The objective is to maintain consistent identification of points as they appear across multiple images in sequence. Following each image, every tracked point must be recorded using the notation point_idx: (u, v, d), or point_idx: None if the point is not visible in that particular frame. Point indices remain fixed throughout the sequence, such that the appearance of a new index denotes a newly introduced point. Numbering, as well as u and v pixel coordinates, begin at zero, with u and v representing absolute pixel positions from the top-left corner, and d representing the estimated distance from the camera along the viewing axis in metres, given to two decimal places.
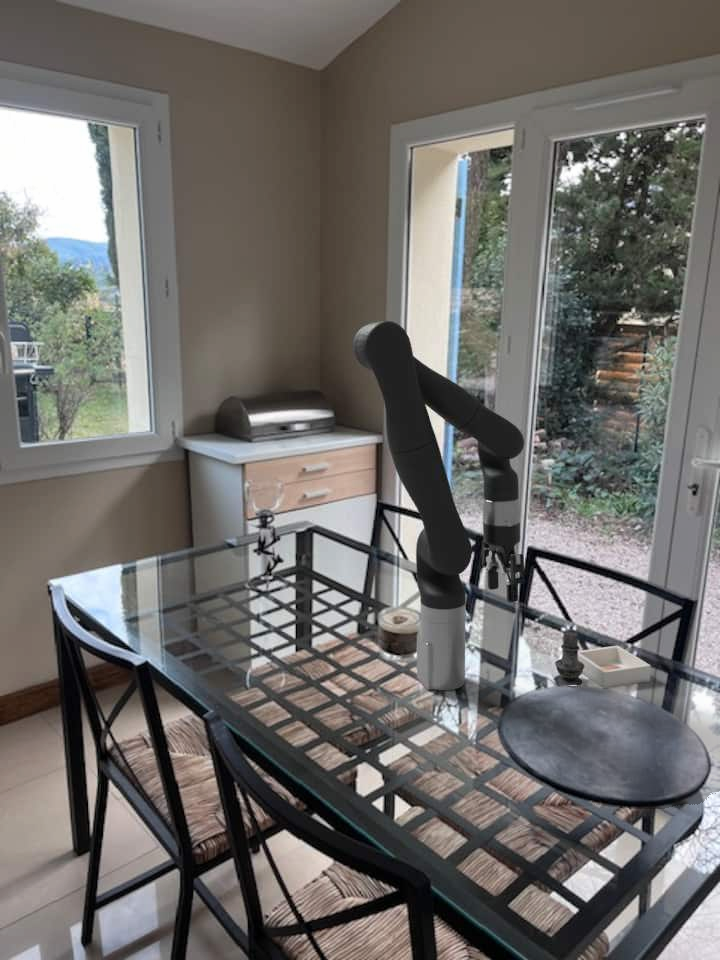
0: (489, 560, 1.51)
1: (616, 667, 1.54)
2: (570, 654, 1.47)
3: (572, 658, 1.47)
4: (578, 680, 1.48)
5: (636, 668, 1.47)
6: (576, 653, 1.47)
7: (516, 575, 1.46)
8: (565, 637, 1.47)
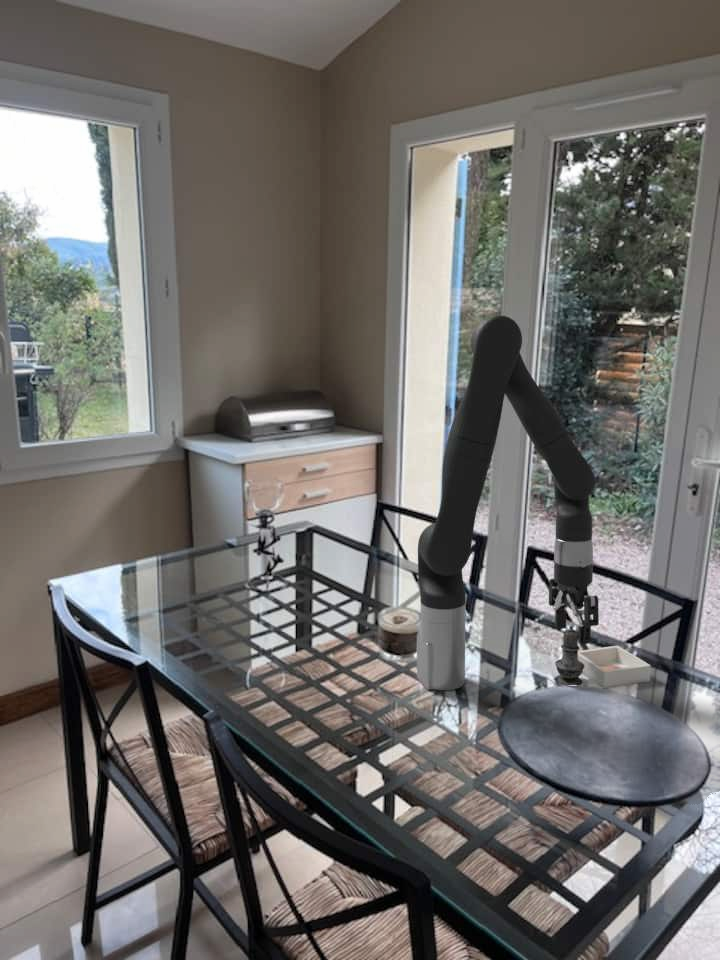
0: (558, 600, 1.48)
1: (616, 667, 1.54)
2: (570, 654, 1.47)
3: (572, 658, 1.47)
4: (578, 680, 1.48)
5: (636, 668, 1.47)
6: (576, 653, 1.47)
7: None
8: (565, 637, 1.47)
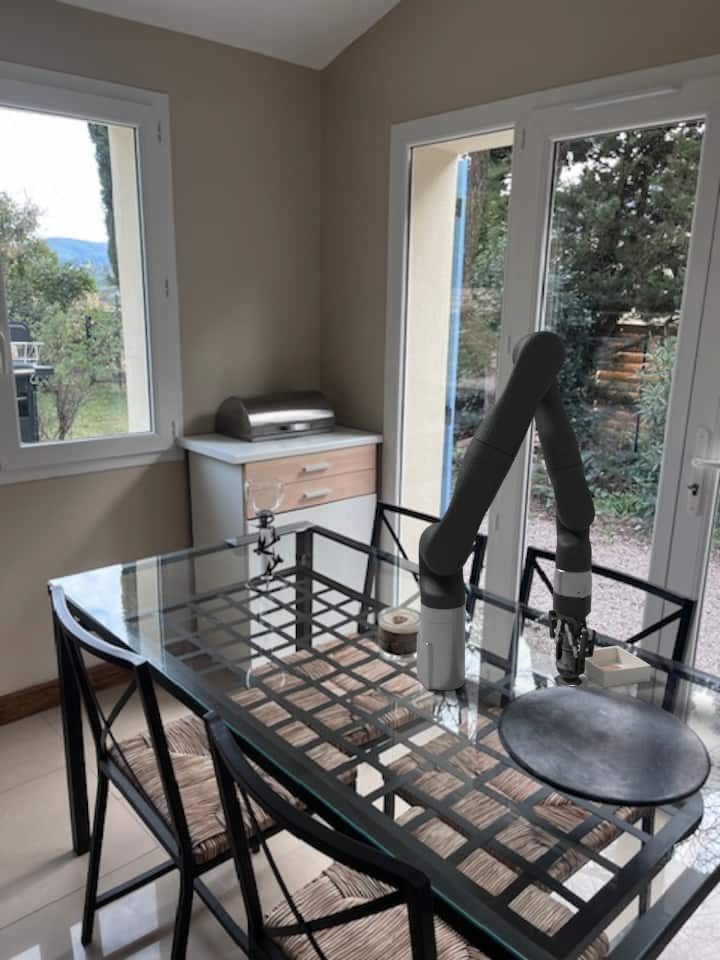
0: (558, 630, 1.49)
1: (616, 667, 1.54)
2: (570, 654, 1.47)
3: (572, 658, 1.47)
4: (578, 680, 1.48)
5: (636, 668, 1.47)
6: None
7: (584, 648, 1.44)
8: (565, 637, 1.47)
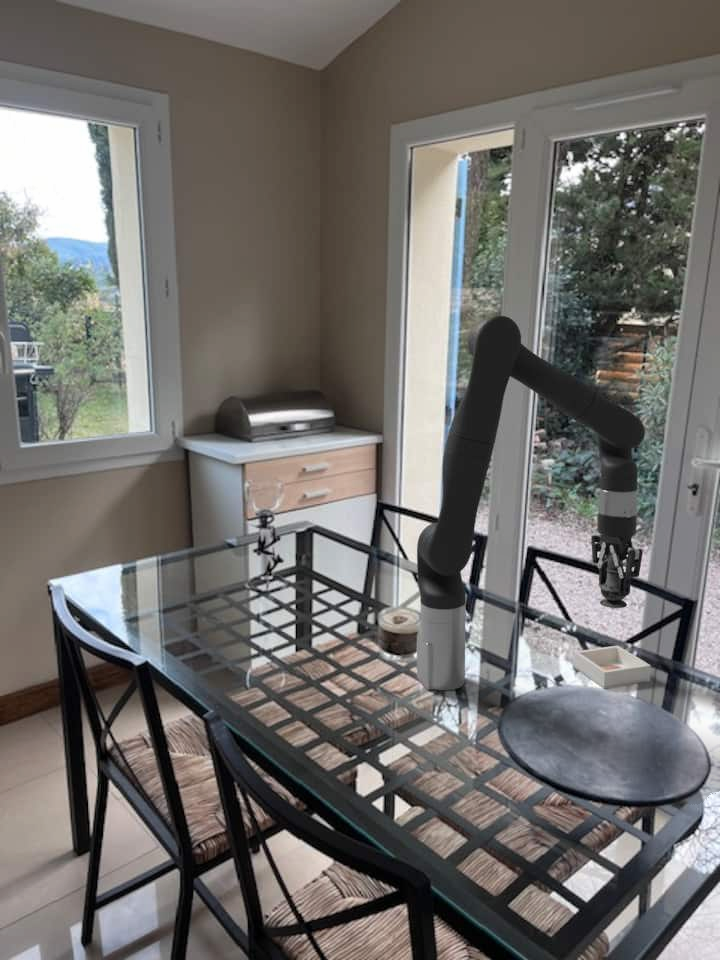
0: (602, 553, 1.49)
1: (616, 667, 1.54)
2: (615, 576, 1.47)
3: (617, 580, 1.47)
4: (622, 603, 1.48)
5: (636, 668, 1.47)
6: None
7: None
8: (610, 559, 1.47)
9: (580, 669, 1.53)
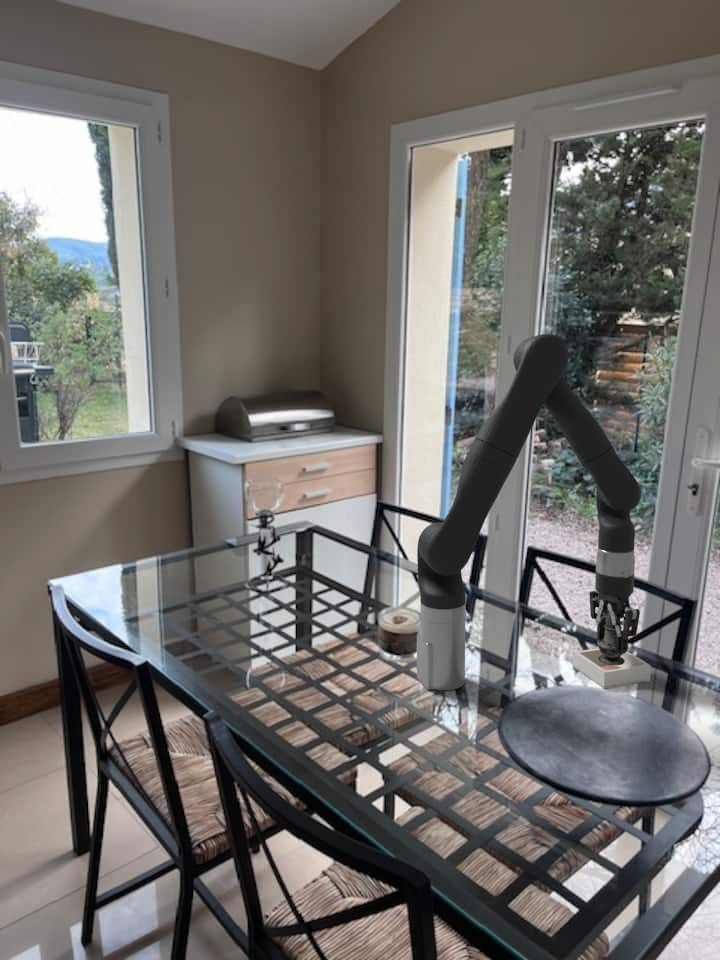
0: (600, 610, 1.51)
1: (616, 667, 1.54)
2: (613, 634, 1.49)
3: (615, 637, 1.49)
4: (620, 659, 1.51)
5: (636, 668, 1.47)
6: None
7: None
8: (608, 617, 1.49)
9: (580, 669, 1.53)
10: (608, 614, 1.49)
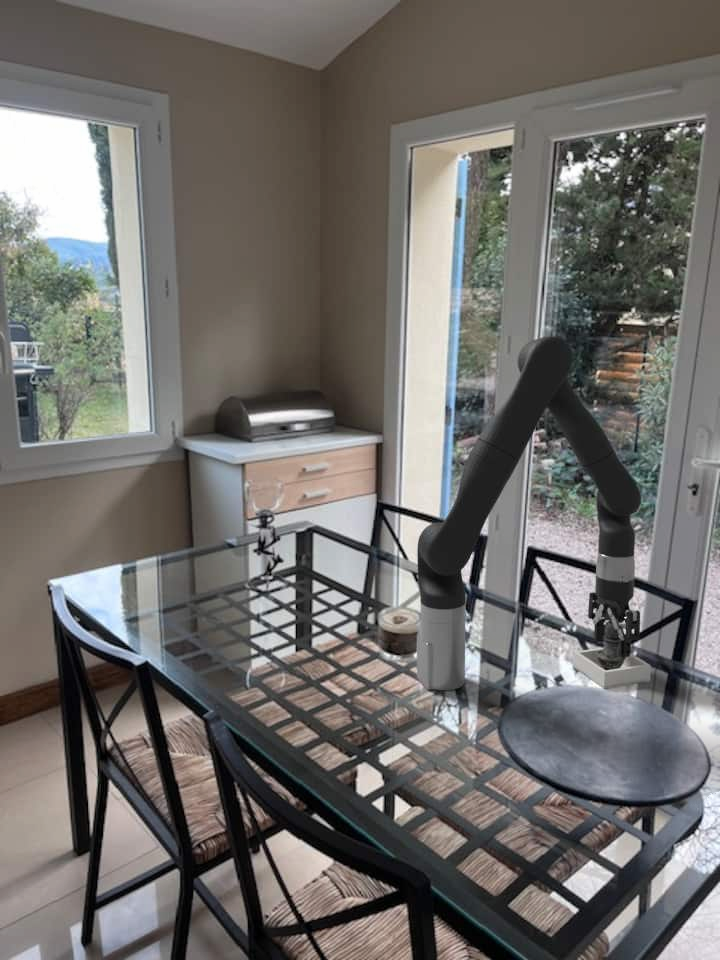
0: (599, 613, 1.52)
1: None
2: (612, 645, 1.49)
3: (614, 649, 1.50)
4: None
5: (636, 668, 1.47)
6: (618, 644, 1.50)
7: None
8: (607, 628, 1.50)
9: (580, 669, 1.53)
10: (607, 625, 1.50)
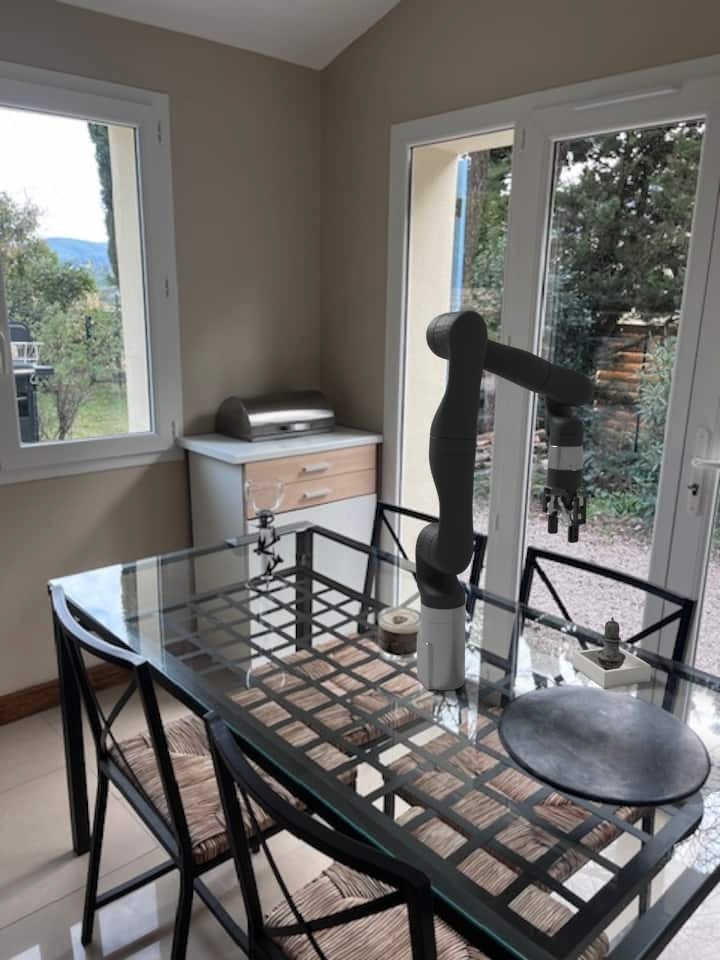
0: (551, 505, 1.60)
1: None
2: (612, 645, 1.49)
3: (614, 649, 1.50)
4: None
5: (636, 668, 1.47)
6: (618, 644, 1.50)
7: (578, 517, 1.54)
8: (607, 628, 1.50)
9: (580, 669, 1.53)
10: (607, 625, 1.50)
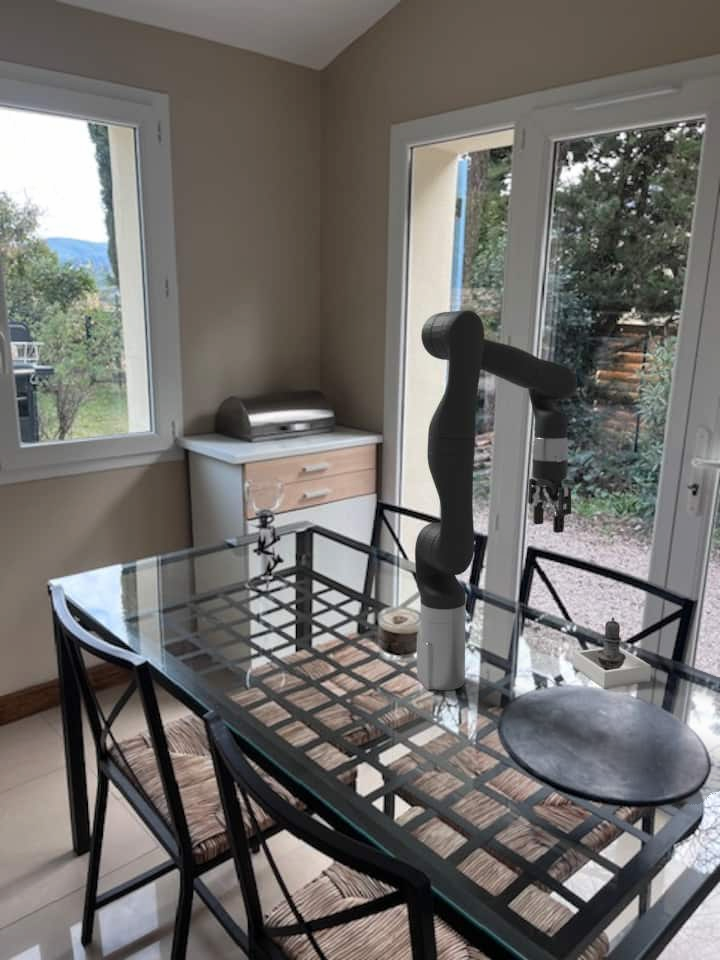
0: (536, 496, 1.64)
1: None
2: (612, 645, 1.49)
3: (614, 649, 1.50)
4: None
5: (636, 668, 1.47)
6: (618, 644, 1.50)
7: (563, 507, 1.58)
8: (607, 628, 1.50)
9: (580, 669, 1.53)
10: (607, 625, 1.50)
